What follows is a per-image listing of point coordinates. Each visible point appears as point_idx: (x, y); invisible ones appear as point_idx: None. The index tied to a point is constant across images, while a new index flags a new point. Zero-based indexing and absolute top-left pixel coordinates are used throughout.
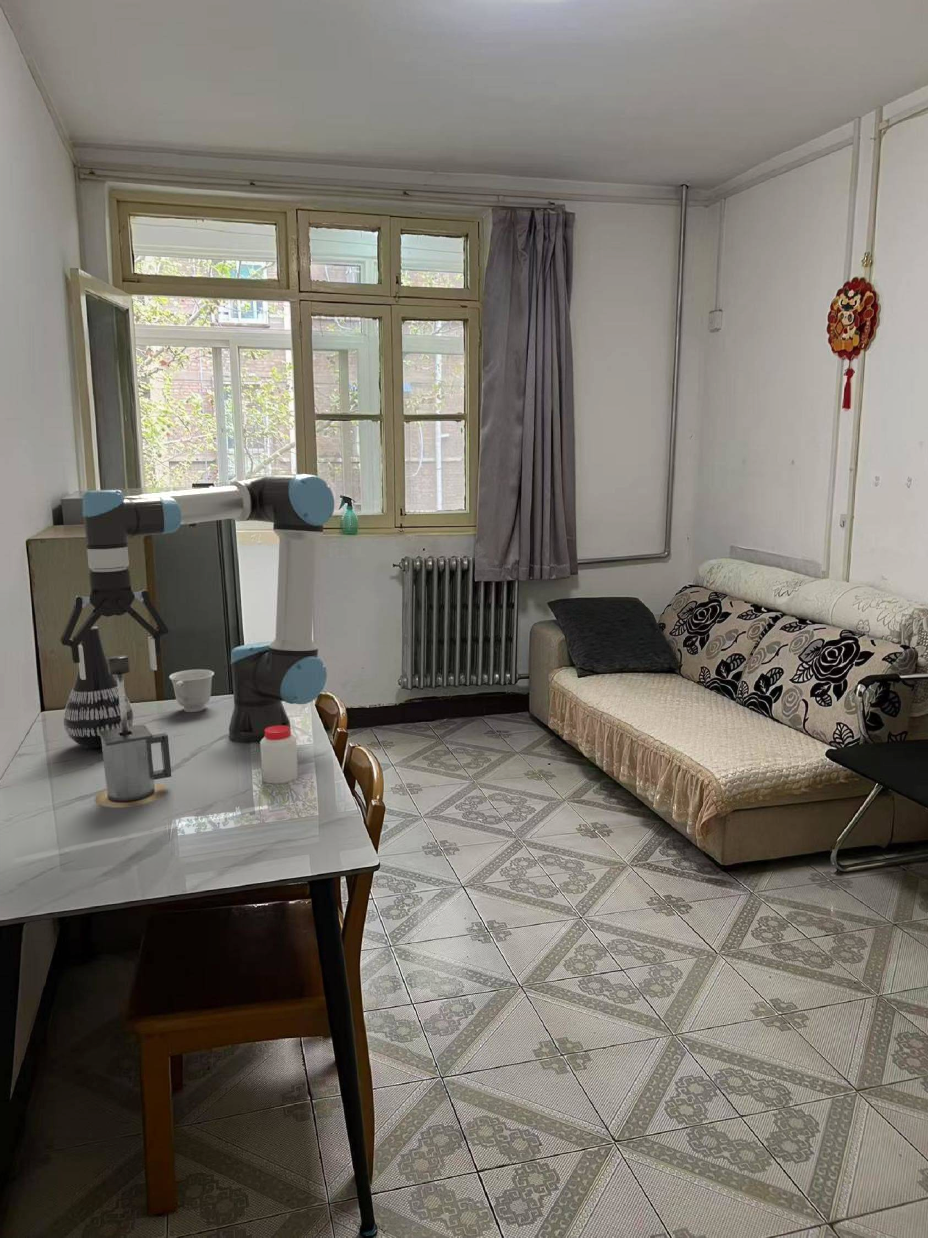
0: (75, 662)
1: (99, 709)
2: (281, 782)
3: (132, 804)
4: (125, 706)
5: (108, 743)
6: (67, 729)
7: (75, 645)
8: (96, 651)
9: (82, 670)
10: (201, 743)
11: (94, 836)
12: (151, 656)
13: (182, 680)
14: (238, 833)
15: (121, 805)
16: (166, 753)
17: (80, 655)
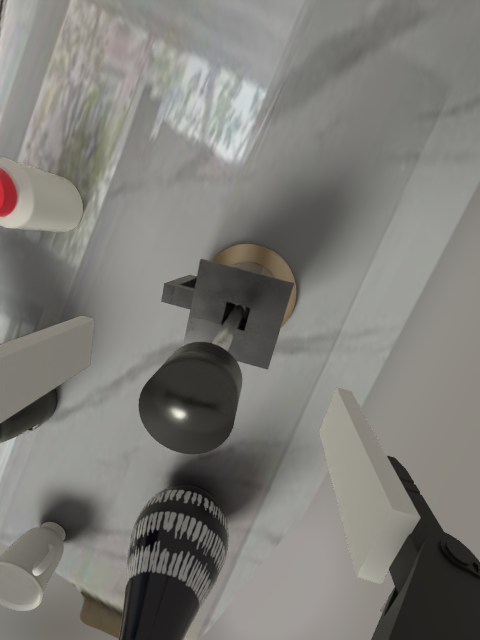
0: (391, 459)
1: (183, 534)
2: (65, 178)
3: (264, 253)
4: (221, 328)
5: (288, 282)
6: (228, 536)
7: (450, 543)
8: None
9: (356, 412)
10: (93, 415)
11: (351, 189)
12: (51, 349)
13: (30, 575)
14: (198, 20)
15: (276, 262)
16: (181, 280)
17: (387, 468)
